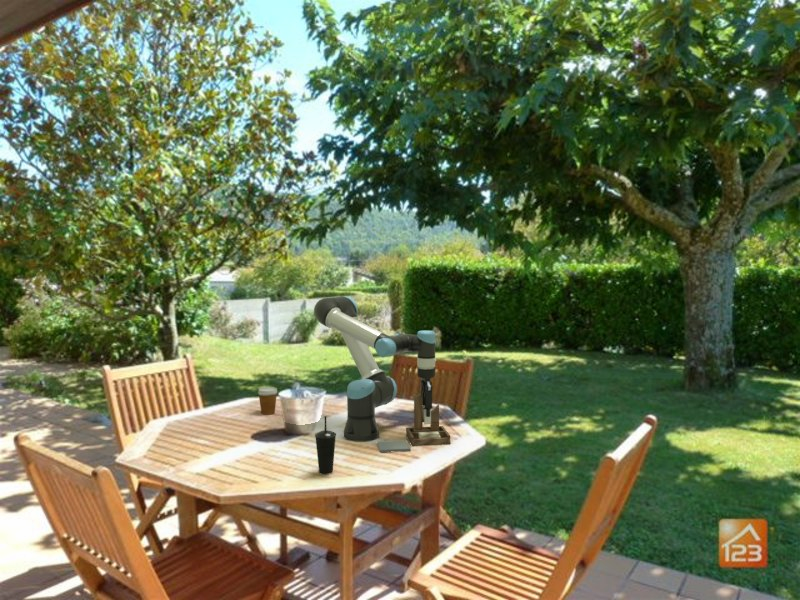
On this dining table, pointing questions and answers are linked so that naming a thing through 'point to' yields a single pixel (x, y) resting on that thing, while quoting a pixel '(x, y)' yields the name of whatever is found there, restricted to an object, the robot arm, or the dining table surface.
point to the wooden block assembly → (419, 416)
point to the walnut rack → (416, 441)
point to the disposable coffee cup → (267, 400)
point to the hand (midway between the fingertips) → (426, 422)
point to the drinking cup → (325, 449)
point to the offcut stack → (428, 435)
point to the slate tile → (393, 446)
